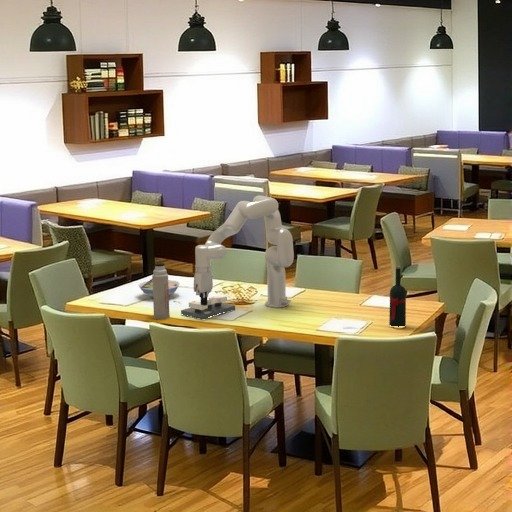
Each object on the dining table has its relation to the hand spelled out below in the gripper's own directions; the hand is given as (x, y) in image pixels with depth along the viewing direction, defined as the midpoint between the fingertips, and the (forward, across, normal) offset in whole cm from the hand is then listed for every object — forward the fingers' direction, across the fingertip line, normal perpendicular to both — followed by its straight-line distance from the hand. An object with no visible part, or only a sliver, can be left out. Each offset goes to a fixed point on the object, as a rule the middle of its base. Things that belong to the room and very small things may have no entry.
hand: (204, 304), depth 484 cm
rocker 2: (+2, -8, -4) cm, 9 cm away
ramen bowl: (+7, -18, -49) cm, 53 cm away
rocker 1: (+2, -1, -5) cm, 5 cm away
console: (+6, -8, -4) cm, 11 cm away
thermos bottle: (+7, +13, -18) cm, 23 cm away
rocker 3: (+2, -16, -4) cm, 16 cm away
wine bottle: (+6, -39, +89) cm, 98 cm away
